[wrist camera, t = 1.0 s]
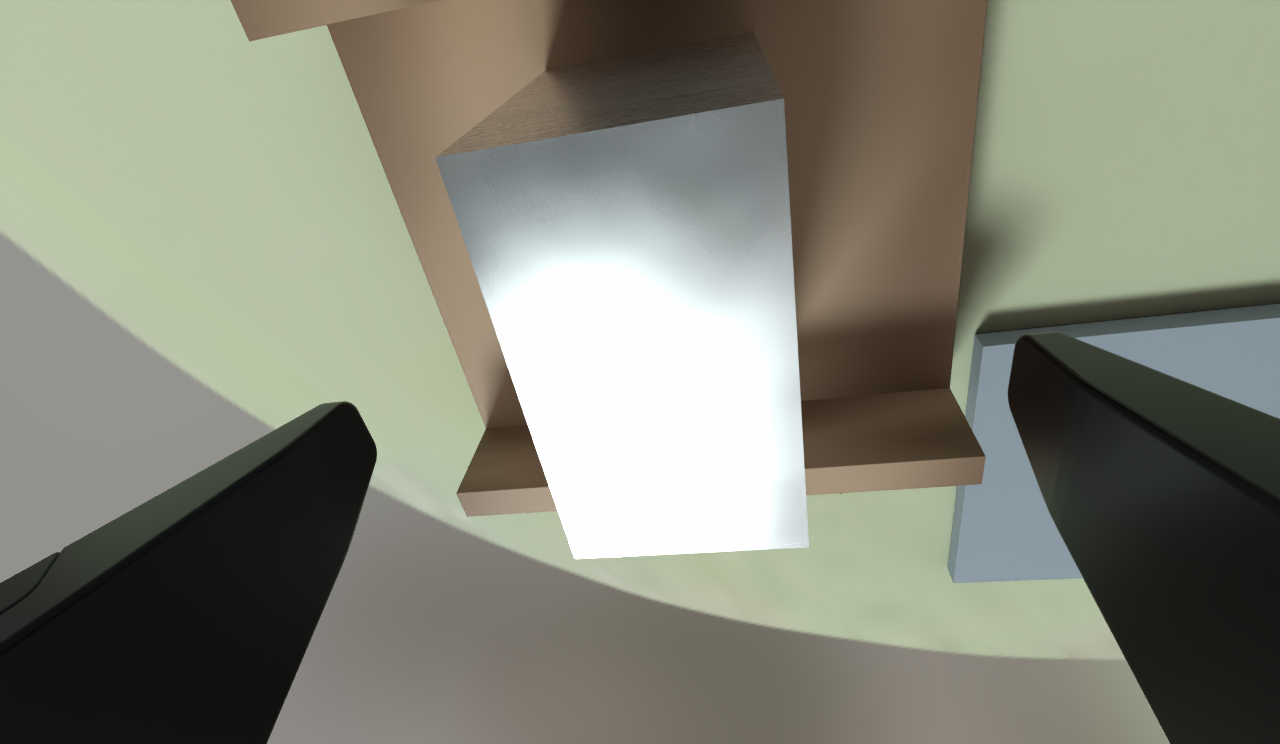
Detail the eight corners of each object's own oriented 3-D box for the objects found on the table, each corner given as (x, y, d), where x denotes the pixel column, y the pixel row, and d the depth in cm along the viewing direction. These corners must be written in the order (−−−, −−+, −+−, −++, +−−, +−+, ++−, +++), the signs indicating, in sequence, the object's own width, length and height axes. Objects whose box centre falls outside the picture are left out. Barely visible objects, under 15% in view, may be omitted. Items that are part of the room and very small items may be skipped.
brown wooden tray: (973, -188, 11) (1086, -240, 8) (929, 386, 17) (980, 490, 14) (341, -39, 13) (215, -32, 10) (510, 423, 20) (469, 522, 16)
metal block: (753, 31, 12) (784, 98, 7) (778, 352, 16) (808, 547, 11) (545, 70, 12) (434, 157, 8) (616, 369, 16) (574, 559, 11)
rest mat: (1341, 297, 15) (1363, 309, 15) (1223, 556, 20) (1237, 572, 19) (974, 334, 16) (983, 346, 16) (947, 567, 21) (953, 582, 21)
